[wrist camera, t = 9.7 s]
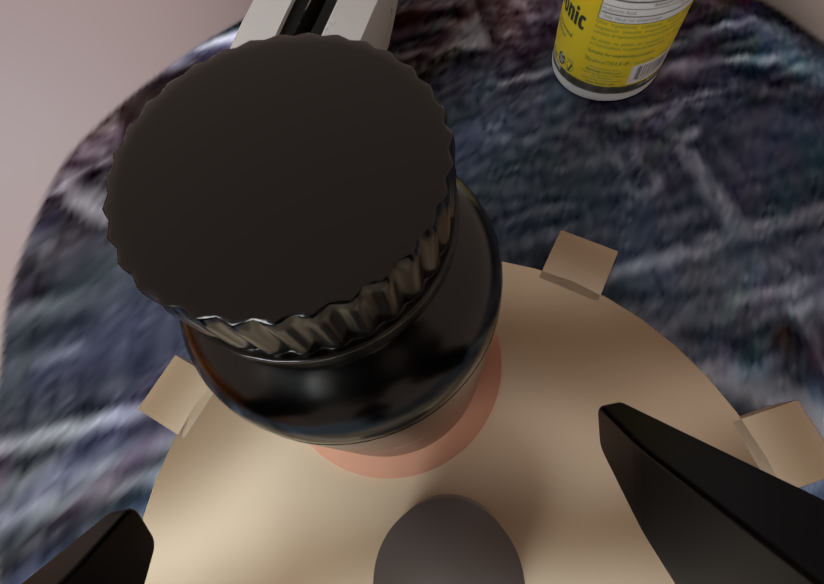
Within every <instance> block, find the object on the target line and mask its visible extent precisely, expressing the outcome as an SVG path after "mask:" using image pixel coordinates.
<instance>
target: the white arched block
mask: <svg viewBox="0 0 824 584" xmlns="http://www.w3.org/2000/svg"><path fill="white" fill-rule="evenodd" d="M397 4H398V0H254V1H253V3H252V5H251V6H250V8H249V10H248V12H247V14H246V16H245V18H244V20H243V22H242V24H241V26H240V28H239V30H238V32H237V35H236V37H235V39H234V41H233V44H232V46H231V48H230V49H232V48H236V47H238V46H240V45H242V44H244V43H246V42H248V41H250V40H265V39H268V38H271V37H273V36H276V35H279V34H280V35H290V36H295V35H299V34H304V33H308V32H309V33H313V34H317V35H321V36H327V35H337V34H338V35H340V36H342V37H345V38H347V39H349V40H361V41H366V42H368V43H369V44H371V45H372V46H373V47H374V48H376V49H381V50H387V49H388V47H389V43H390V38H391V33H392V28H393V23H394V18H395V14H396V9H397Z"/></svg>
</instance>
